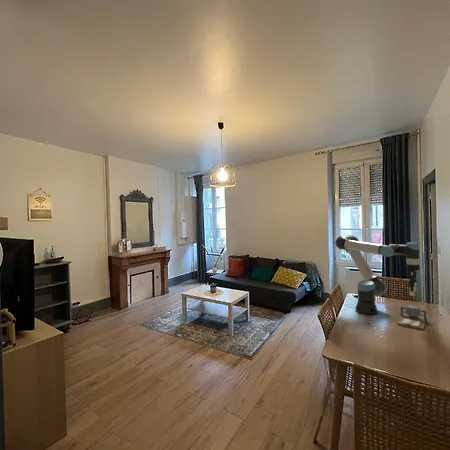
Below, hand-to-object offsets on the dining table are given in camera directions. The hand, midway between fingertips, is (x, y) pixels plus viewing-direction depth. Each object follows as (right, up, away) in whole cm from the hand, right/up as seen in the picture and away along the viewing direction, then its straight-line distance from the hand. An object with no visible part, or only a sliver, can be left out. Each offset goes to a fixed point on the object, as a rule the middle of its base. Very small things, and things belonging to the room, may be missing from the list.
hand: (413, 293), depth 180 cm
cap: (0, -15, 0) cm, 15 cm away
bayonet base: (-4, -18, -4) cm, 19 cm away
